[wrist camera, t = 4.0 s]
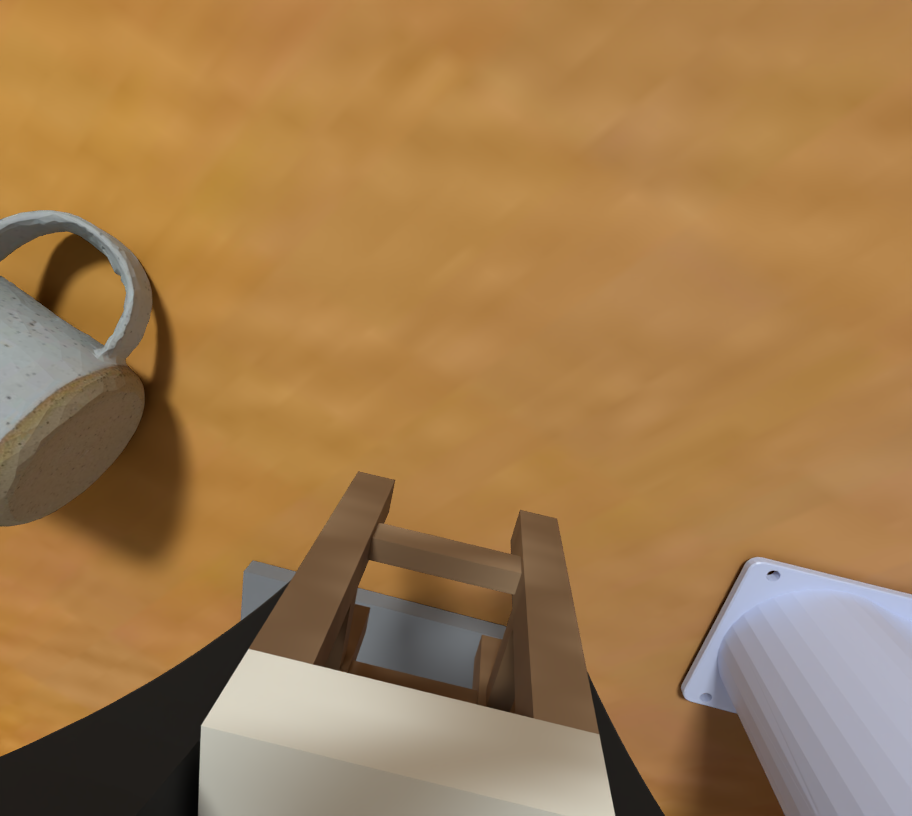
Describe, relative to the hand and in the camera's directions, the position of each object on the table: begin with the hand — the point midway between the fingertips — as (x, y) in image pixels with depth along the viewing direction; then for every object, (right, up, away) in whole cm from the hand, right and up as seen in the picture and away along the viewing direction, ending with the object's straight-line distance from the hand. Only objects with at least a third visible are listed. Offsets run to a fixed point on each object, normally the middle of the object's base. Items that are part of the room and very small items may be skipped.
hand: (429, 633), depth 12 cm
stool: (0, +1, +2) cm, 2 cm away
